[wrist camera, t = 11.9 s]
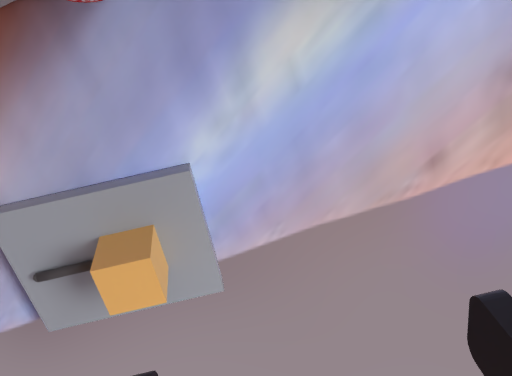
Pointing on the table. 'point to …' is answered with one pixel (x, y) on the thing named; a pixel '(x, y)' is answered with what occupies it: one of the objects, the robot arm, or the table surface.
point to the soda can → (85, 1)
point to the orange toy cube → (130, 270)
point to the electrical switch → (5, 2)
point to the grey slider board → (100, 224)
